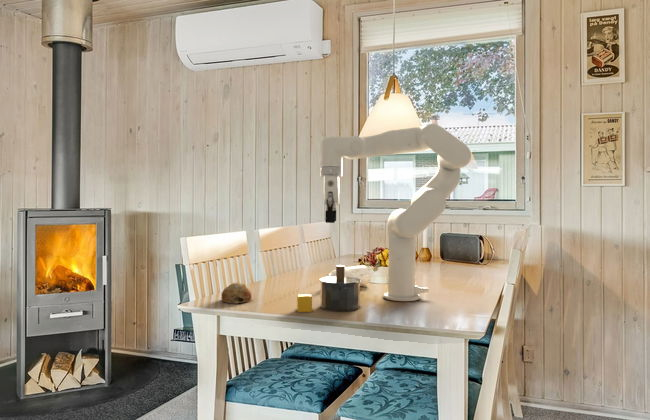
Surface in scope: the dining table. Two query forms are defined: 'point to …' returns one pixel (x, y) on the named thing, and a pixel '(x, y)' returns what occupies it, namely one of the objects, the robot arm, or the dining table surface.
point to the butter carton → (304, 303)
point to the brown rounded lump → (236, 293)
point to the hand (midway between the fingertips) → (330, 221)
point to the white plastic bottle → (356, 273)
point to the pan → (340, 297)
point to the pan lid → (340, 277)
